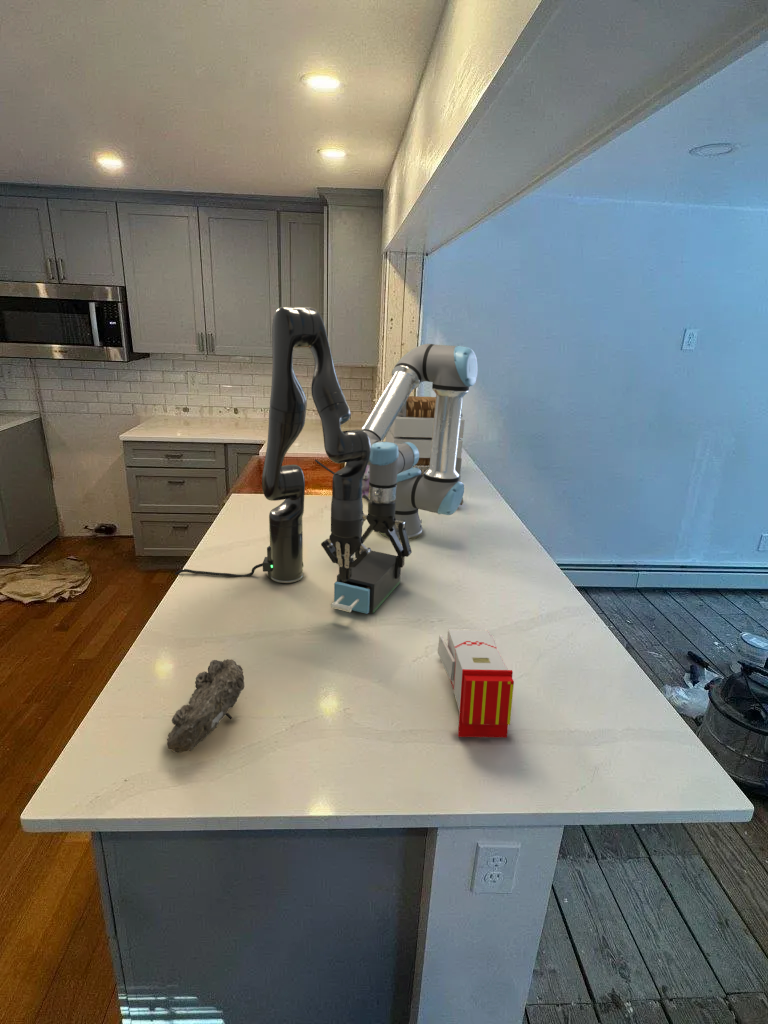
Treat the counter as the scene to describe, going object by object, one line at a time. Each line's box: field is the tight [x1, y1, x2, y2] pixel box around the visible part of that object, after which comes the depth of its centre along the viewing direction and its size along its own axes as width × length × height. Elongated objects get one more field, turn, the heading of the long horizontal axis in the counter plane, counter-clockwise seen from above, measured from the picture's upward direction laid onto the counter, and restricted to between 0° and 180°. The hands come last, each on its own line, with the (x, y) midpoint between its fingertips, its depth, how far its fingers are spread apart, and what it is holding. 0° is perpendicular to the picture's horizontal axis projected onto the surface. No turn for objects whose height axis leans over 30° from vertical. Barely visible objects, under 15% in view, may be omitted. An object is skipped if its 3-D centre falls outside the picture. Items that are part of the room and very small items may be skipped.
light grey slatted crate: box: [384, 395, 465, 482], centre depth 268 cm, size 34×33×41 cm
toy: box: [437, 628, 515, 738], centre depth 117 cm, size 12×13×30 cm
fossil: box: [166, 658, 245, 754], centre depth 106 cm, size 22×10×15 cm
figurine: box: [362, 465, 370, 498], centre depth 238 cm, size 9×10×15 cm
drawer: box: [330, 580, 371, 615], centre depth 151 cm, size 24×10×6 cm, turn 157°
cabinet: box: [336, 550, 401, 614], centre depth 156 cm, size 19×11×8 cm, turn 157°
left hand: (345, 579), depth 140 cm, fingers closed
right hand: (378, 572), depth 162 cm, fingers closed on cabinet, 11 cm apart
